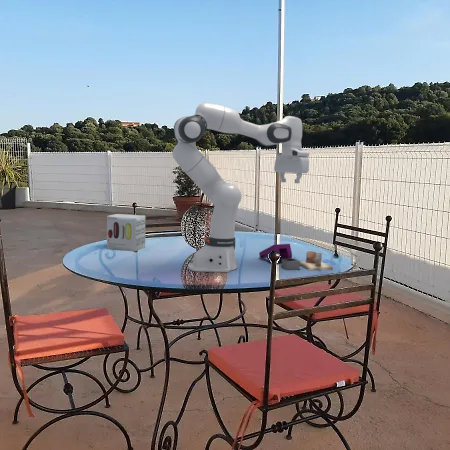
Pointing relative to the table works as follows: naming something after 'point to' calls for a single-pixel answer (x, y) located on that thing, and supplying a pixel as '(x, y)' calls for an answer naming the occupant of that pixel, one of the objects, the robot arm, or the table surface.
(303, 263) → the post board
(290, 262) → the collar
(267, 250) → the mounting bracket
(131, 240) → the supplement box
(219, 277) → the table surface
